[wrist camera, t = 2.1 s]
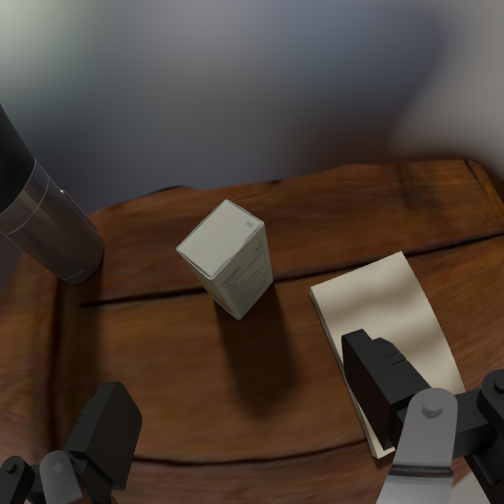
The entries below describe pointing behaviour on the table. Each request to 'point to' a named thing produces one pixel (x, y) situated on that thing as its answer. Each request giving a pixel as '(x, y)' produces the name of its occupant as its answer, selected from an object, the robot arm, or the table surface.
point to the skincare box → (230, 257)
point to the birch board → (387, 323)
